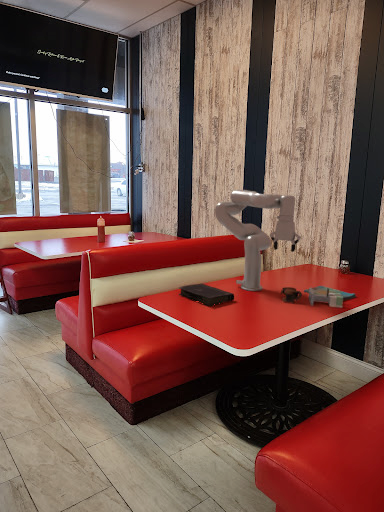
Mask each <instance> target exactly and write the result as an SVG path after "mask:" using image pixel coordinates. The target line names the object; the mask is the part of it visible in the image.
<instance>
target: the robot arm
mask: <svg viewBox="0 0 384 512" xmlns="http://www.w3.org/2000/svg"><path fill="white" fill-rule="evenodd" d="M230 200H231V201H220V202H217V204H216V205H215V206H214V207H215V208H214V214H215V215H214V216H215V218H216V220H217V221H218V223H219V224H220V225H222V226H223V227H224V228H225V229H227V230H228V231H229V232H230V233H231V235H233V236H234V237H235V238H237V239H238V240H240V241H244V242H243V245H244V269H243V271H244V272H243V273H244V274H243V279H242V280H240V279H238V280H236V281H235V283H236V284H237V285H240V288H241V289H242V290H245V291H250V292H251V291H252V292H256V291H257V292H258V291H262V290H263V286H262V285H261V276H262V275H261V273H262V255H261V251H264V250H268V249H269V248H270V247H271V244H272V242H273V250H275V251H277V250H278V249H279V248H278V247H279V246H278V245H279V242H278V241H279V240H280V241H286V242H291V246H290V253H293V252H295V251H296V245H297V244H298V243H299V242H300V240H301V239H302V236H301V235H299V234H298V233H296V223H295V221H294V220H295V219H294V216H295V206H296V204H295V202H296V197H295V196H294V195H286V194H284V195H283V194H269V193H268V194H266V193H265V194H264V193H258V192H257V191H254V190H247V189H235V190H234V191H233V190H232V192H231V193H230ZM247 207H254V208H259V209H260V208H261V209H267V210H272V209H279V213H278V215H277V216H276V219H278V220H277V221H276V225H275V228H274V229H275V231H272V232H270V233H269V235H268V233H266V232H265V231H263V230H262V229H261V228H260V227H259V226H257V225H255V224H253V223H243V222H242V221H240V220H239V219H238V218H237V217H235V216H236V215H239V214H240V213H241V212H242V211H243V210H244V209H245V208H247Z"/></svg>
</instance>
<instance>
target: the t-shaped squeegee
mask: <svg viewBox="0 0 384 512" xmlns="http://www.w3.org/2000/svg"><path fill="white" fill-rule="evenodd" d="M312 288H313V287H309V288H308V289H309V293H308V300H309V304H310V306H314V302H320V303H328V302H329V301H330V296H331V295H329V288H330V287H328V288H327V295H319V294H314V292H313V289H312Z"/></svg>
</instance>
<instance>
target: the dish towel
mask: <svg viewBox="0 0 384 512" xmlns="http://www.w3.org/2000/svg"><path fill="white" fill-rule="evenodd" d="M311 288H312V289H313V292H314V294H319V295H327V288H329V293H340V294H341V296H342V297H343V302H344V301H348V300H351V299H355V298H357V295H356V293H350V292H346V291H342V290H340V289H339V290H338V289H334V288H332V287H328V286H324V285H318V286H315V287H311ZM303 292H304V293H306V292H307V294H309V288H306V289H304V290H303Z"/></svg>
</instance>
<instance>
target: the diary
mask: <svg viewBox="0 0 384 512" xmlns="http://www.w3.org/2000/svg"><path fill="white" fill-rule="evenodd" d="M178 289H180V293H178V296H180V295H181V297H183V298H185V297H186V299H188V300H191V301H193V300H194V301H193V302H195V301H199V302H201V303H203V304H204V305H203V304H202V305H203V306H206V307H208V306H210V307H214V306H217V305H216V304H218V305H222V303H227V301H228V302H230V301H232V300H234V301H235V294H234V292H233V293H232V292H229V291H226V290H224V289H220V288H217V287H215V286H210V285H208V284H206V283H195V284H188V285H183V286H178ZM199 302H198V303H199ZM201 303H200V304H201ZM219 303H220V304H219ZM214 304H215V305H214ZM213 305H214V306H213Z"/></svg>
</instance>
